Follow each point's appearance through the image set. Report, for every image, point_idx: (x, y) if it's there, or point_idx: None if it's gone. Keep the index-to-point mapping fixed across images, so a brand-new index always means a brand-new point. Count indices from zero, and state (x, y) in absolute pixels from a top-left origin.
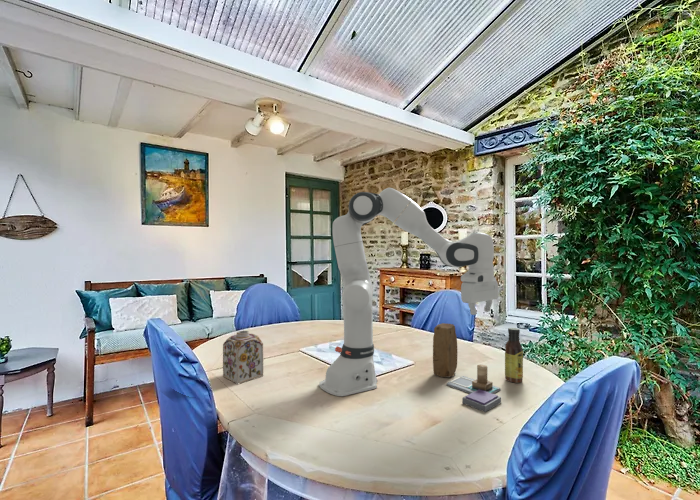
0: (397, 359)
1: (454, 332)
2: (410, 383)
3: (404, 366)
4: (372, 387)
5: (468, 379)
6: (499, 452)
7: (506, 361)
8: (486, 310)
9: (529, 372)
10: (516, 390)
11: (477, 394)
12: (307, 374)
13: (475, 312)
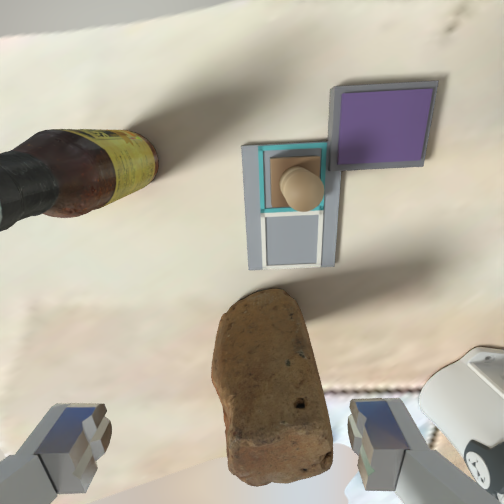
0: None
1: (248, 403)
2: (391, 322)
3: None
4: (490, 350)
5: (265, 243)
6: None
7: (131, 183)
8: (96, 428)
9: None
10: (200, 109)
11: (382, 144)
12: None
13: (394, 417)
